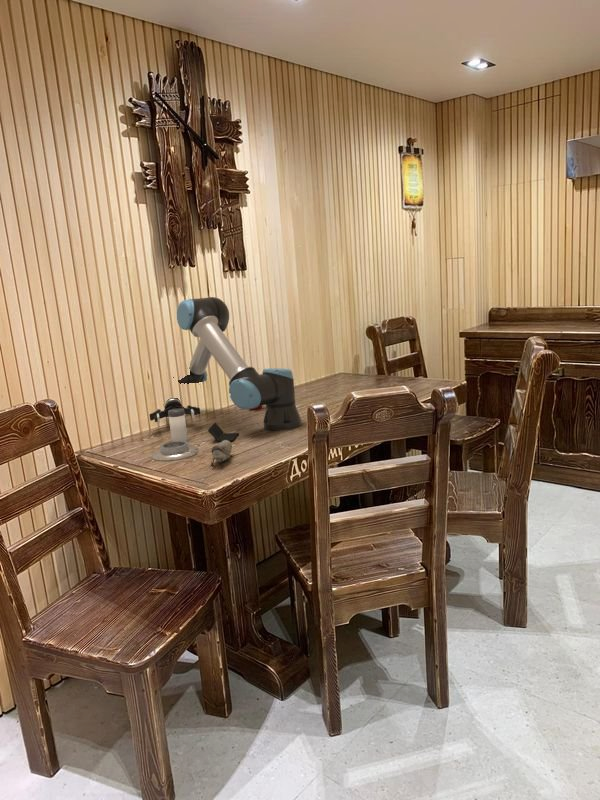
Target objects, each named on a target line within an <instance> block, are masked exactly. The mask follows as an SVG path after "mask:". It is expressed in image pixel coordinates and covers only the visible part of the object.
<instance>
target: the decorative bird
mask: <svg viewBox="0 0 600 800" xmlns="http://www.w3.org/2000/svg"><path fill="white" fill-rule="evenodd" d="M231 443H232V442H229V441H228V440H224V441H222V442H220V443H218V442H217V443H216V444H215V445H214V446H212V448H210V450H211V456H212V461H211V462H210V463H211V465H210V466H209V468H216V466H215V464H214V463H215V462H214V461H216V462H218V463H219V465H218V466H217V468H220V469H222V468H225V465H224V464H223V462H225V461H226V460H229V458H230V457H231V453H232V449H233V447H232V446H233V445H232V444H231Z"/></svg>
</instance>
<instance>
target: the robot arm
mask: <svg viewBox="0 0 600 800" xmlns="http://www.w3.org/2000/svg"><path fill="white" fill-rule="evenodd" d="M176 321H177V324H178V326H179V327H180V329H182V330H185V331H188V330H189V331H190V332H191V334H192V335H193V337H195V338H199V340H198V342H197V344H196V347H195V350H194V353H193V354H192V357H191V359H190V363H189V364H190V367H189V369H190V375H187V376H185V377H184V378H182V379H181V380H178V382H179V383H180V384H181V383H184V384H185V383H187V384H189V383H199V382H204V381H205V382H207V380H208V379H207V378H208V377H207V376H208V374H207V371H206V369H207V367H208V365H209V362H210V360H211V358H212V357H213V358H214V359H215V361H216V363H217V364H218V365H219V366H220V367H221V370H223V372H224V373H225V374H226V375H225V376H227V377H228V379H229V381H228V387H229V388H228V393H229V394H230V395H229V397H230V399H231V402H232V403H233V404H234V405H235V406H236V407H238V408H239V409H241V410H250V409H253V408H256V407H258V406H262V407H263V406H266V407H265V414H264V418H263V421H262V422H263V423H262V425H263V429H265V430H268V431H285V430H292V429H296V428H298V427H301V426H302V417H301V415H300V413H299V410H298V408H297V406H296V405H297V404H296V395H295V383H294V380H295V378H294V375H293V372H292V369H290V368H263V369H262V374H259V372H257V370H256V369H255V368H254V367H253V366H248V364H247V363H246V362H245V360H244V359H243V358H242V357H241V355H240V354H239V352H238V351H237V349H236V348H235V347H234V346H233V344H232V343H231V341H230V340H229V339H228V338H227V336H226V334H225V333H224V332H225V331H226V329H227V328H228V326H229V325H228V324H229V321H230V311H229V307H228V306H227V303H226V302H224V301H223V300H222V299H220V298H218V297H216V296H215V297H214V296H210V297H200V298H192V299H191V298H189V299H184V300H182V301H180V302H179V304H178V305H177V309H176ZM173 378H174V377H173ZM205 382H204V383H205ZM178 408H182V409H184V413H185V415H186V416H188V415H190V416H191V418H192V419H193V420H195V416H197V415H201V408H200V407H197V406H193V405H192V406H191V405H187V406H186V407H184V406H183V404H182V401H180V400H179V399H178V398H170V399H168V400H167V401H166V403H165V406H164V405H163V410H162V409H160V408H158V409H157V410H155V411H154V412H153V411H152V412H151V413H150V414H149V421H151V422H152V421H154V423H157V424H161V421H160V420H161V419H164V418H169V416H168V411H169V410H172V409H178Z"/></svg>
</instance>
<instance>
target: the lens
mask: <svg viewBox="0 0 600 800" xmlns="http://www.w3.org/2000/svg"><path fill="white" fill-rule="evenodd" d="M168 416H169V417H168V422H169V428H170V430H169V431H170V437H171V442H172V441H187V442H188V440H189V439H188V430H187V424H186V414H185V413H184V409H182V408H178V409H172V410H169V411H168Z"/></svg>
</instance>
